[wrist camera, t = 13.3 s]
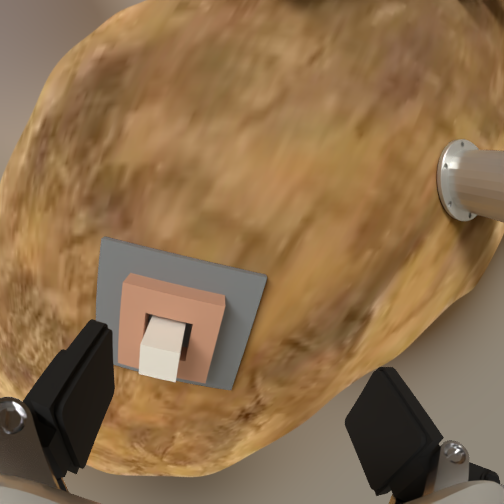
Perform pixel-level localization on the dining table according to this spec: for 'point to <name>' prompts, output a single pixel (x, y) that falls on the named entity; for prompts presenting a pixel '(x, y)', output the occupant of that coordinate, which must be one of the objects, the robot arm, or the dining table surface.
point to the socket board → (186, 275)
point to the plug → (161, 348)
